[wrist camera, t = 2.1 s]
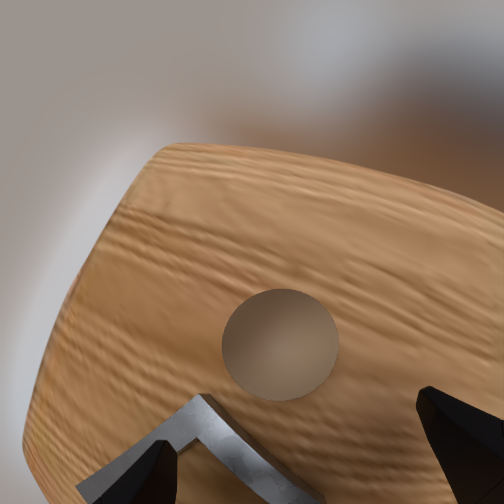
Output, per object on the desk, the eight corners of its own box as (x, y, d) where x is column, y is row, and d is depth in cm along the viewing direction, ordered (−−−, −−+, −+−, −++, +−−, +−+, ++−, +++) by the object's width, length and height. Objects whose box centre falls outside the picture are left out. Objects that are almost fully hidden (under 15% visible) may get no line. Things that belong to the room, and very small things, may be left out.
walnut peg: (329, 365, 18) (362, 337, 9) (286, 408, 17) (279, 424, 8) (286, 327, 20) (278, 268, 11) (244, 368, 19) (199, 343, 10)
